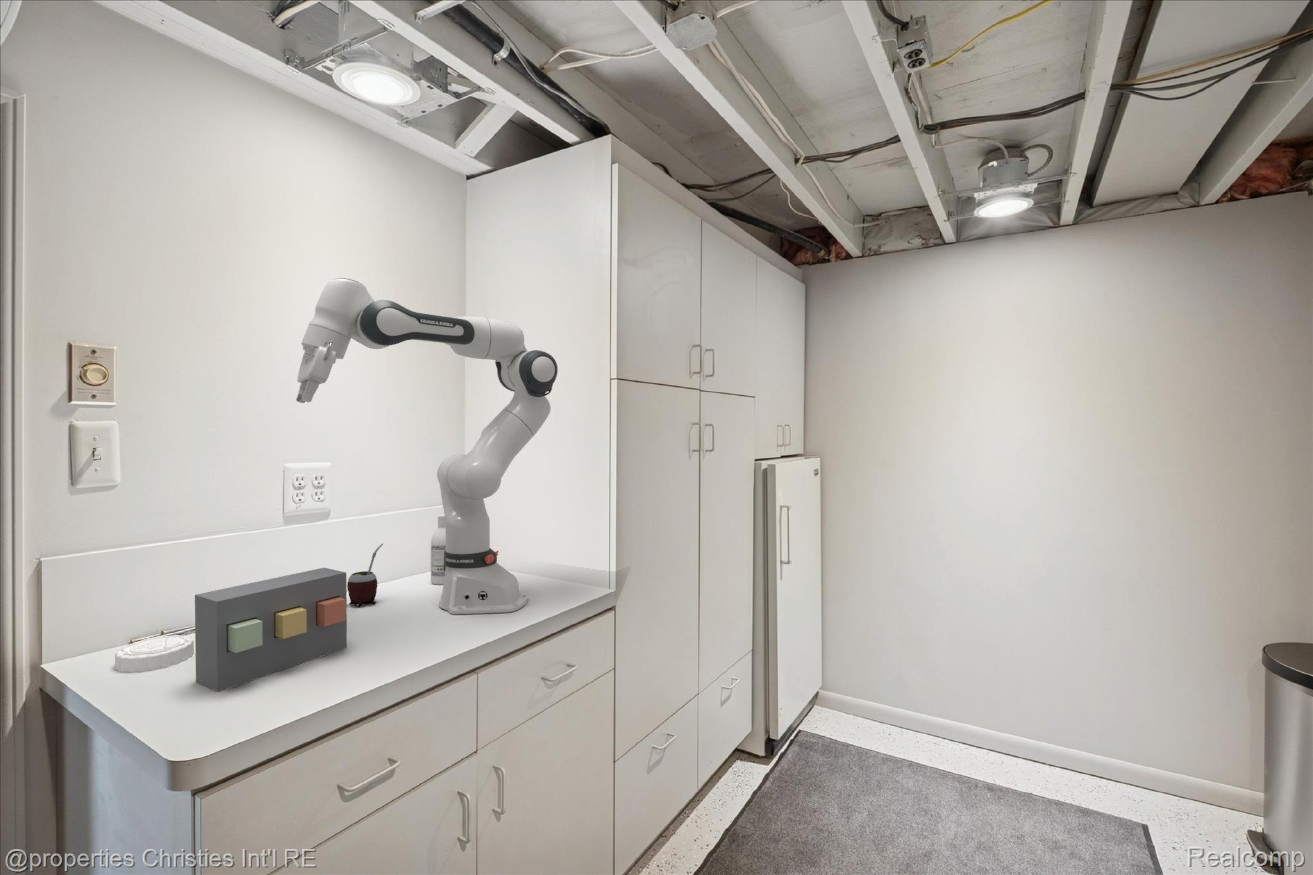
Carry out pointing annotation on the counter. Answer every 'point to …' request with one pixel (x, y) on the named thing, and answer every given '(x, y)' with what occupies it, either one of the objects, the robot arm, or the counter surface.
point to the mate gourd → (363, 586)
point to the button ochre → (290, 622)
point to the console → (265, 626)
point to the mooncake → (154, 653)
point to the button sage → (244, 635)
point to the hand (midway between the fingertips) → (302, 401)
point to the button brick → (330, 611)
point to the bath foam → (438, 552)
